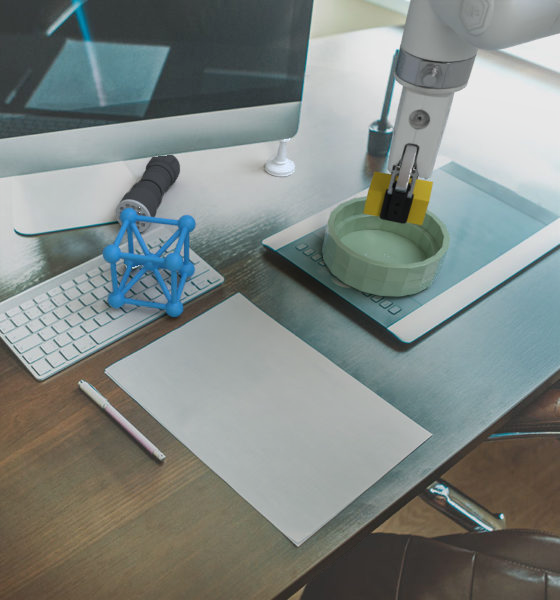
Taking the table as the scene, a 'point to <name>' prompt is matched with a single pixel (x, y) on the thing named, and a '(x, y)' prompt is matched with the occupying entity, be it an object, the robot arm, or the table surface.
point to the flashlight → (150, 189)
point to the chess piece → (280, 162)
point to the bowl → (383, 250)
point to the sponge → (382, 183)
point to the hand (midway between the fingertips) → (396, 207)
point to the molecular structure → (151, 261)
